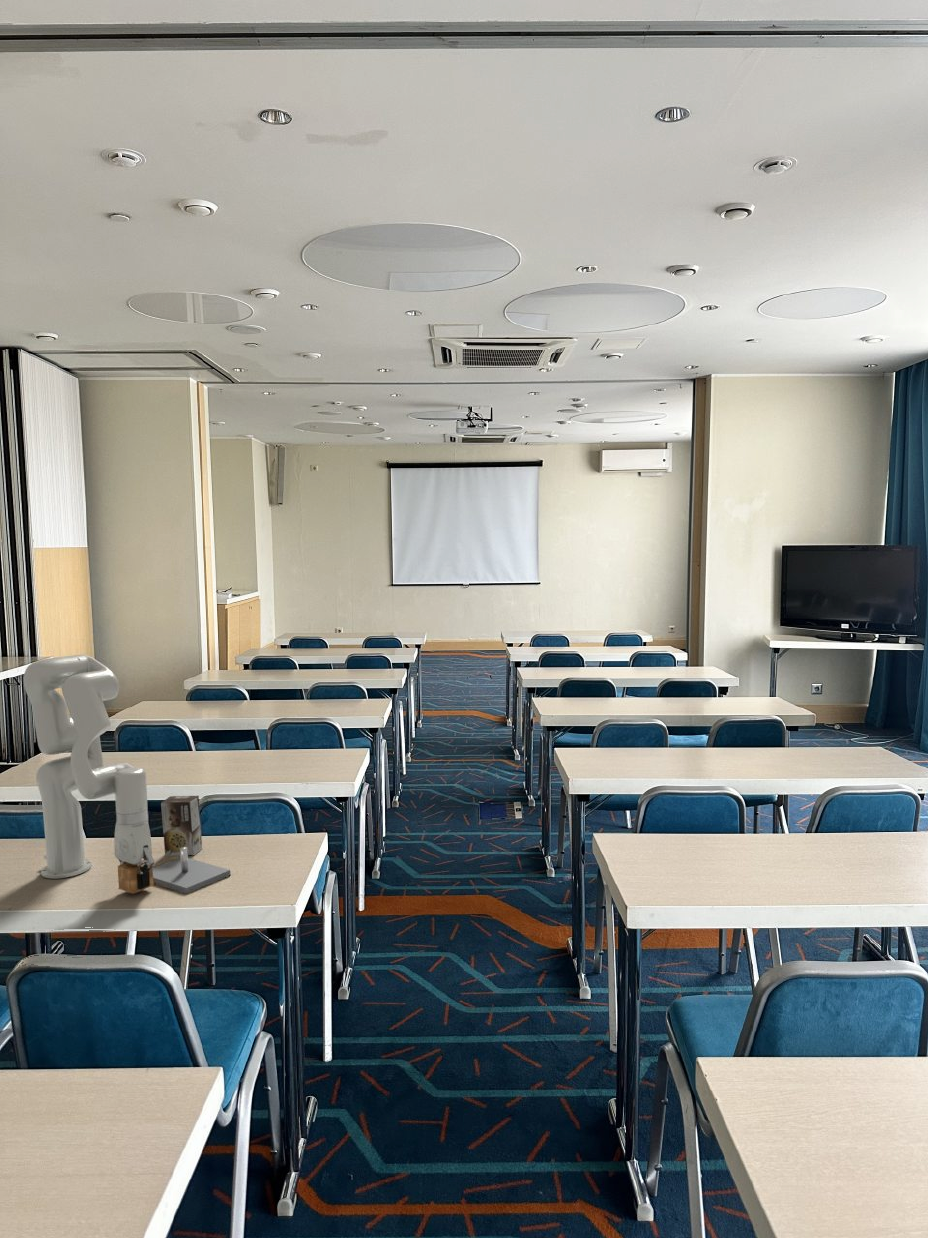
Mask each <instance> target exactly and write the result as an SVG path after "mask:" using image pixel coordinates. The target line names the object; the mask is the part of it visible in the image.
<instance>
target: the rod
mask: <svg viewBox="0 0 928 1238" xmlns="http://www.w3.org/2000/svg"><path fill="white" fill-rule="evenodd" d="M180 855H181V856H180V858H181V871H182V873H186V872H188V871H189V869H188V858H189V856H188V854H187V847H182V848H180Z"/></svg>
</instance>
